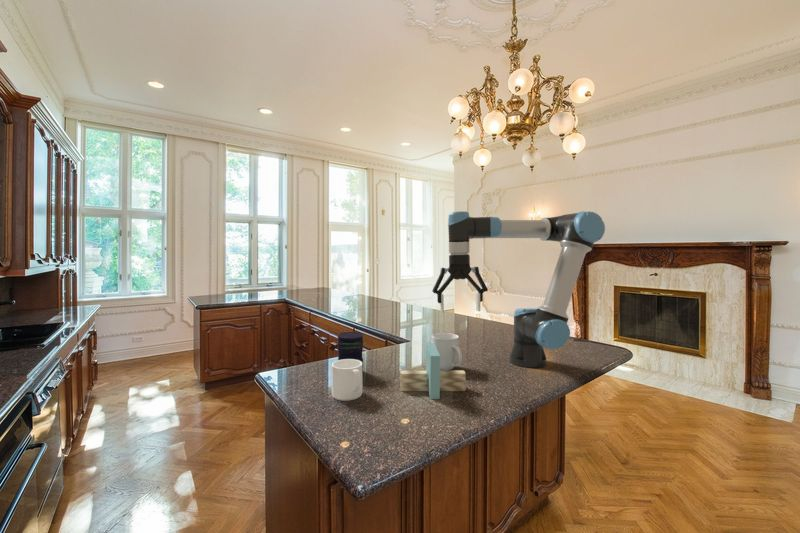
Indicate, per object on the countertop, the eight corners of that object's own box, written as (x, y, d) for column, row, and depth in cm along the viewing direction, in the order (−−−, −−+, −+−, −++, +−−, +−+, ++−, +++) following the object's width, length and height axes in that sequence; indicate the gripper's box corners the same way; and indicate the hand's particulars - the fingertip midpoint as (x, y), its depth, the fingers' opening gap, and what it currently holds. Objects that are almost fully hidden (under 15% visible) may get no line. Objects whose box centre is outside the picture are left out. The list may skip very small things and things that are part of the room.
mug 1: (326, 393, 117) (326, 362, 117) (353, 386, 123) (353, 357, 123) (343, 406, 107) (343, 373, 107) (372, 398, 113) (372, 367, 112)
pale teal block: (439, 399, 113) (440, 356, 112) (430, 399, 113) (430, 356, 112) (433, 380, 129) (434, 342, 128) (425, 380, 129) (425, 342, 128)
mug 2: (471, 372, 138) (471, 339, 137) (449, 377, 132) (450, 343, 131) (446, 361, 150) (446, 331, 150) (425, 366, 144) (425, 334, 144)
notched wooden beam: (463, 387, 122) (464, 370, 122) (465, 390, 119) (465, 373, 119) (400, 387, 122) (400, 370, 122) (400, 391, 119) (400, 373, 119)
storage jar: (368, 373, 136) (368, 334, 136) (348, 379, 129) (348, 339, 128) (352, 367, 143) (352, 330, 142) (332, 373, 136) (332, 334, 135)
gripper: (489, 253, 134) (490, 308, 135) (424, 254, 133) (425, 310, 134) (495, 253, 127) (496, 311, 128) (426, 255, 126) (428, 314, 127)
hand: (460, 311), depth 131 cm, fingers open, 13 cm apart
